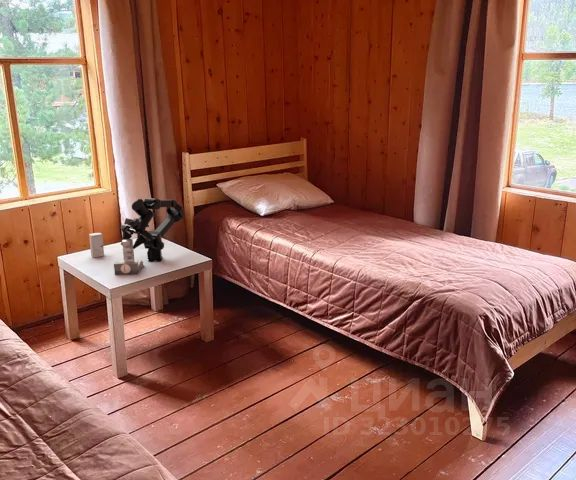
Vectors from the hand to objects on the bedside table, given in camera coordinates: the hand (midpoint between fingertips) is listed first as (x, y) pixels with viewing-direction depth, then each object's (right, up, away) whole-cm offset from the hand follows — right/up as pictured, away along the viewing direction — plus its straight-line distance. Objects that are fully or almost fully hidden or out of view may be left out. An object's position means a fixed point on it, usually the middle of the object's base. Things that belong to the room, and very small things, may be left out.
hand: (127, 246), depth 273 cm
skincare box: (-23, -5, +24) cm, 33 cm away
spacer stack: (0, -8, +3) cm, 9 cm away
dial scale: (0, -12, +3) cm, 12 cm away
